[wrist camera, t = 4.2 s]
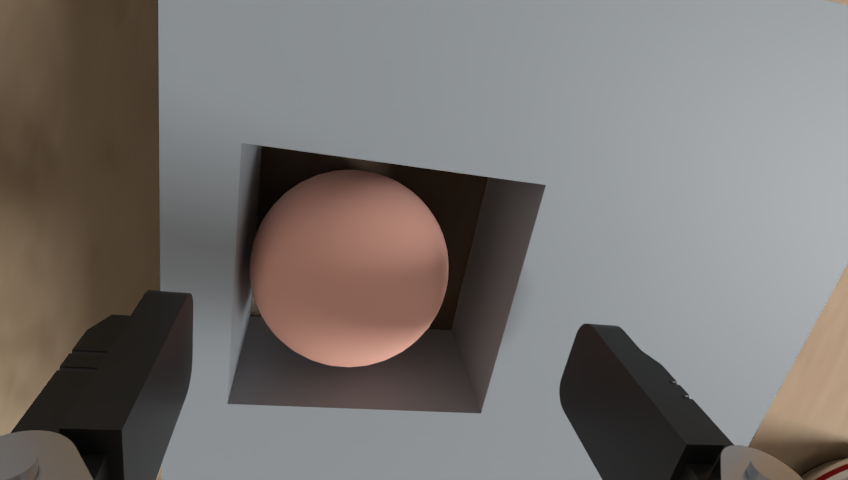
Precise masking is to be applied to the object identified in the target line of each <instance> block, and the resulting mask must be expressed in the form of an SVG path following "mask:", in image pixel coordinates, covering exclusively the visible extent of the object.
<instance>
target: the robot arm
mask: <svg viewBox="0 0 848 480" xmlns="http://www.w3.org/2000/svg"><path fill="white" fill-rule="evenodd" d="M192 360H193V297H192V294H191V293H181V292H167V291H154V290H148V291H147V292H146V293H145V294H144V296H143V297H142V299H141V301H140V302H139V304H138V305H137V307H136V308H135V310H134V312H133V313H132V315H131V316H123V315H111V316H109V317H108V318H106V319H104V320H103V321H101V322H99V323H98V324H96V325H95V326H93V327H91V328H90V329H88V330H87V331H86V332H85V333H84V335H83V336H82V338H81V339H80V340H79V342H78V343H77V344H76V346H75V347H74V348H73V350H72V354H69V355H68V356H67V358H66V359H65V360H64V362H63V363H62V364H61V366H60V370H59V371H56V373H55V374H54V375H53V377H52V378H51V379H50V381H49V382H48V383H47V385H46V386H45V387H44V389H43V390H42V391H41V393H40V394H39V395H38V397H37V398H36V399H35V401H34V402H33V404H32V405H31V406H30V408H29V409H28V410H27V412H26V413H25V414H24V416H23V417H22V418H21V420H20V421H19V422H18V424H17V425H16V426H15V428H14V429H13V430H12V432H11V433H10V434H6V435H2V436H0V480H156V477H157V474H158V472H159V469H160V466H161V464H162V461H163V458H164V455H165V453H166V450H167V447H168V445H169V442H170V439H171V436H172V434H173V431H174V428H175V426H176V423H177V420H178V417H179V415H180V412H181V409H182V407H183V404H184V401H185V398H186V396H187V392H188V389H189V384H190V379H191V372H192ZM559 396H560V402H561V406H562V409H563V411H564V413H565V414H566V416H567V418H568V420H569V422H570V423H571V425H572V427H573V429H574V430H575V432H576V434H577V436H578V438H579V439H580V441H581V443H582V445H583V446H584V448H585V450H586V452H587V454H588V455H589V457H590V459H591V461H592V462H593V464H594V466H595V468H596V470H597V471H598V473H599V475H600V477H601V478H602V480H803V479H802V478H801V477H800V476H799V475H798V474H797V473H796V472H795V471H794V470H792V469H791V468H790V467H788V466H787V465H786V464H784V463H783V462H781V461H780V460H778V459H776V458H775V457H773V456H771V455H769V454H767V453H765V452H763V451H760V450H757V449H755V448H751V447H747V446H742V445H734V444H733V443H732V442H731V441H730V440H729V439H728V438H727V436H726V435H725V434H724V433H723V432H722V431H721V430H720V429H719V428H718V426H717V425H716V424H715V423H714V422H713V421H712V420H711V419H710V418H709V417H708V415H707V414H706V413H705V412H704V411H703V410H702V409H701V408H700V407H699V405H698V404H697V403H696V402H695V401H694V400H693V399H690V398H689V394H688V393H687V392H686V391H685V390H684V389H683V388H682V387H681V386H680V385H677V381H676V380H675V379H674V378H673V377H672V376H671V374H670V373H669V372H668V371H667V370H666V369H665V368H664V367H663V366H662V365H661V364H660V363H659V362H657V361H656V360H654V359H653V358H651V357H650V356H649V355H647V354H646V353H644V352H643V351H641V350H640V348H639V347H638V346H637V345H636V344H635V343H634V342H633V340H632V339H631V338H630V337H629V336H628V335H627V334H626V333H625V331H624V330H623V329H622V328H621V327H619V326H615V325H601V324H583V325H582V326H581V327H580V328H579V329H578V331H577V334H576V337H575V340H574V343H573V345H572V348H571V351H570V354H569V357H568V360H567V363H566V366H565V369H564V372H563V375H562V378H561V381H560V388H559Z"/></svg>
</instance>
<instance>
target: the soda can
mask: <svg viewBox="0 0 848 480" xmlns="http://www.w3.org/2000/svg"><path fill="white" fill-rule="evenodd" d="M801 478H802V479H803V480H848V458H844V459H838V460H833V461H830V462H827V463H824V464H822V465H819V466H817V467H815V468H813V469H812V470H810V471H808V472H807V473H805V474H804V475H802V476H801Z"/></svg>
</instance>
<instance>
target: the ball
mask: <svg viewBox="0 0 848 480" xmlns="http://www.w3.org/2000/svg"><path fill="white" fill-rule="evenodd" d="M448 271H449V262H448V252H447V247H446V243H445V239H444V236H443V233H442V231H441V229H440V226H439V224H438V222H437V220H436V219H435V217H434V215H433V214H432V213H431V211H430V210H429V208H428V207H427V206H426V205H425V204H424V202H423V201H422V200H421V199H420V198H419V197H418V196H417V195H416V194H415V193H413V192H412V191H411V190H409V189H408V188H406V187H405V186H403V185H402V184H400V183H399V182H397V181H395V180H393V179H391V178H389V177H386V176H383V175H380V174H377V173H374V172H368V171H360V170H338V171H332V172H328V173H323V174H319V175H316V176H314V177H312V178H309V179H307V180H305V181H303V182H301V183H299V184H298V185H296V186H295V187H293V188H292V189H290V190H289V191H287V192H286V193H285V194H284V195H283V196H282V197H281V198H280V199H279V200H278V201H277V202H276V203H275V204H274V205H273V206H272V207H271V209H270V210H269V212H268V213H267V214H266V216H265V217H264V219H263V220H262V222H261V224H260V226H259V229H258V231H257V233H256V236H255V239H254V242H253V246H252V251H251V256H250V281H251V288H252V292H253V296H254V300H255V303H256V305H257V308H258V310H259V312H260V314H261V316H262V317H263V319H264V321H265V322H266V324H267V325H268V327H269V328H270V330H271V331H272V332H273V333H274V334H275V336H276V337H277V338H279V339H280V340H281V341H282V342H283V343H284V344H285V345H287V346H288V347H289V348H290V349H292V350H293V351H295V352H296V353H298V354H300V355H302V356H304V357H306V358H308V359H310V360H312V361H315V362H319V363H322V364H326V365H330V366H339V367H357V366H367V365H371V364H375V363H378V362H382V361H385V360H387V359H389V358H391V357H393V356H395V355H397V354H399V353H401V352H402V351H404V350H405V349H407V348H408V347H409V346H411V345H412V344H413V343H414V342H416V341H417V340H418V339H419V338H420V337H421V336H422V334H423V333H424V332H425V331H426V330H427V329H428V328H429V326H430V325H431V323H432V321H433V320H434V318H435V317H436V315H437V313H438V311H439V309H440V307H441V305H442V302H443V299H444V296H445V292H446V289H447V283H448Z"/></svg>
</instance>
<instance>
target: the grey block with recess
mask: <svg viewBox="0 0 848 480" xmlns="http://www.w3.org/2000/svg"><path fill="white" fill-rule="evenodd" d="M158 47H159V192H160V291H167V292H181V293H191V294H192V297H193V360H192V372H191V379H190V384H189V389H188V392H187V396H186V398H185V401H184V404H183V407H182V409H181V412H180V415H179V417H178V420H177V423H176V426H175V428H174V431H173V434H172V436H171V439H170V442H169V445H168V447H167V450H166V453H165V455H164V458H163V461H162V464H161V480H602V478H601V477H600V475H599V473H598V471H597V470H596V468H595V466H594V464H593V462H592V461H591V459H590V457H589V455H588V454H587V452H586V450H585V448H584V446H583V445H582V443H581V441H580V439H579V438H578V436H577V434H576V432H575V430H574V429H573V427H572V425H571V423H570V422H569V420H568V418H567V416H566V414H565V413H564V411H563V409H562V406H561V402H560V396H559V388H560V381H561V378H562V375H563V372H564V369H565V366H566V363H567V360H568V357H569V354H570V351H571V348H572V345H573V343H574V340H575V337H576V334H577V331H578V329H579V328H580V327H581V326H582V325H583V324H601V325H615V326H619V327H621V328H622V329H623V330H624V331H625V333H626V334H627V335H628V336H629V337H630V338H631V339H632V340H633V342H634V343H635V344H636V345H637V346H638V347H639V348H640V350H641V351H643V352H644V353H646V354H647V355H649V356H650V357H651V358H653V359H654V360H656V361H657V362H659V363H660V364H661V365H662V366H663V367H664V368H665V369H666V370H667V371H668V372H669V373H670V374H671V376H672V377H673V378H674V379H675V380H676V381H677V385H680V386H681V387H682V388H683V389H684V390H685V391H686V392H687V393H688V394H689V398H690V399H693V400H694V401H695V402H696V403H697V404H698V405H699V407H700V408H701V409H702V410H703V411H704V412H705V413H706V414H707V415H708V417H709V418H710V419H711V420H712V421H713V422H714V423H715V424H716V425H717V426H718V428H719V429H720V430H721V431H722V432H723V433H724V434H725V435H726V436H727V438H728V439H729V440H730V441H731V442H732V443H733V444H734V445H742V446H747V447H748V446H749V444H750V442H751V440H752V438H753V437H754V435H755V433H756V431H757V429H758V427H759V425H760V424H761V422H762V420H763V418H764V416H765V414H766V413H767V411H768V409H769V407H770V405H771V403H772V402H773V400H774V398H775V396H776V394H777V392H778V391H779V389H780V387H781V385H782V383H783V381H784V379H785V378H786V376H787V374H788V372H789V370H790V368H791V367H792V365H793V363H794V361H795V359H796V357H797V356H798V354H799V352H800V350H801V348H802V346H803V345H804V343H805V341H806V339H807V337H808V335H809V334H810V332H811V330H812V328H813V326H814V324H815V322H816V321H817V319H818V317H819V315H820V313H821V311H822V310H823V308H824V306H825V304H826V302H827V300H828V299H829V297H830V295H831V293H832V291H833V289H834V288H835V286H836V284H837V282H838V280H839V278H840V277H841V275H842V273H843V271H844V269H845V267H846V265H847V264H848V6H847V5H843V4H839V3H835V2H831V1H827V0H158ZM262 146H267V147H274V148H282V149H289V150H296V151H303V152H310V153H318V154H325V155H332V156H339V157H347V158H354V159H361V160H368V161H376V162H383V163H390V164H397V165H404V166H412V167H419V168H426V169H433V170H441V171H448V172H455V173H462V174H470V175H477V176H484V177H488V178H487V183H486V187H485V191H484V195H483V199H482V204H481V208H480V212H479V216H478V220H477V224H476V229H475V233H474V237H473V241H472V245H471V250H470V254H469V258H468V262H467V266H466V270H465V275H464V279H463V283H462V287H461V291H460V296H459V300H458V304H457V308H456V312H455V316H454V321H453V325H452V329H451V330H440V329H427V330H426V331H425V332H424V333H423V334H422V336H421V337H420V338H419V339H418V340H417V341H416V342H414V343H413V344H412V345H411V346H409V347H408V348H407V349H405V350H404V351H402V352H401V353H399V354H397V355H395V356H393V357H391V358H389V359H387V360H385V361H382V362H378V363H375V364H371V365H367V366H357V367H339V366H330V365H326V364H322V363H319V362H315V361H312V360H310V359H308V358H306V357H304V356H302V355H300V354H298V353H296V352H295V351H293V350H292V349H290V348H289V347H288V346H287V345H285V344H284V343H283V342H282V341H281V340H280V339H279V338H277V337H276V336H275V334H274V333H273V332H272V331H271V330H270V328H269V327H268V325H267V324H266V322H265V321H264V319H263V317H260V316H250V313H251V299H252V288H251V281H250V256H251V251H252V246H253V242H254V239H255V236H256V226H257V211H258V196H259V182H260V167H261V152H262Z"/></svg>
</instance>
